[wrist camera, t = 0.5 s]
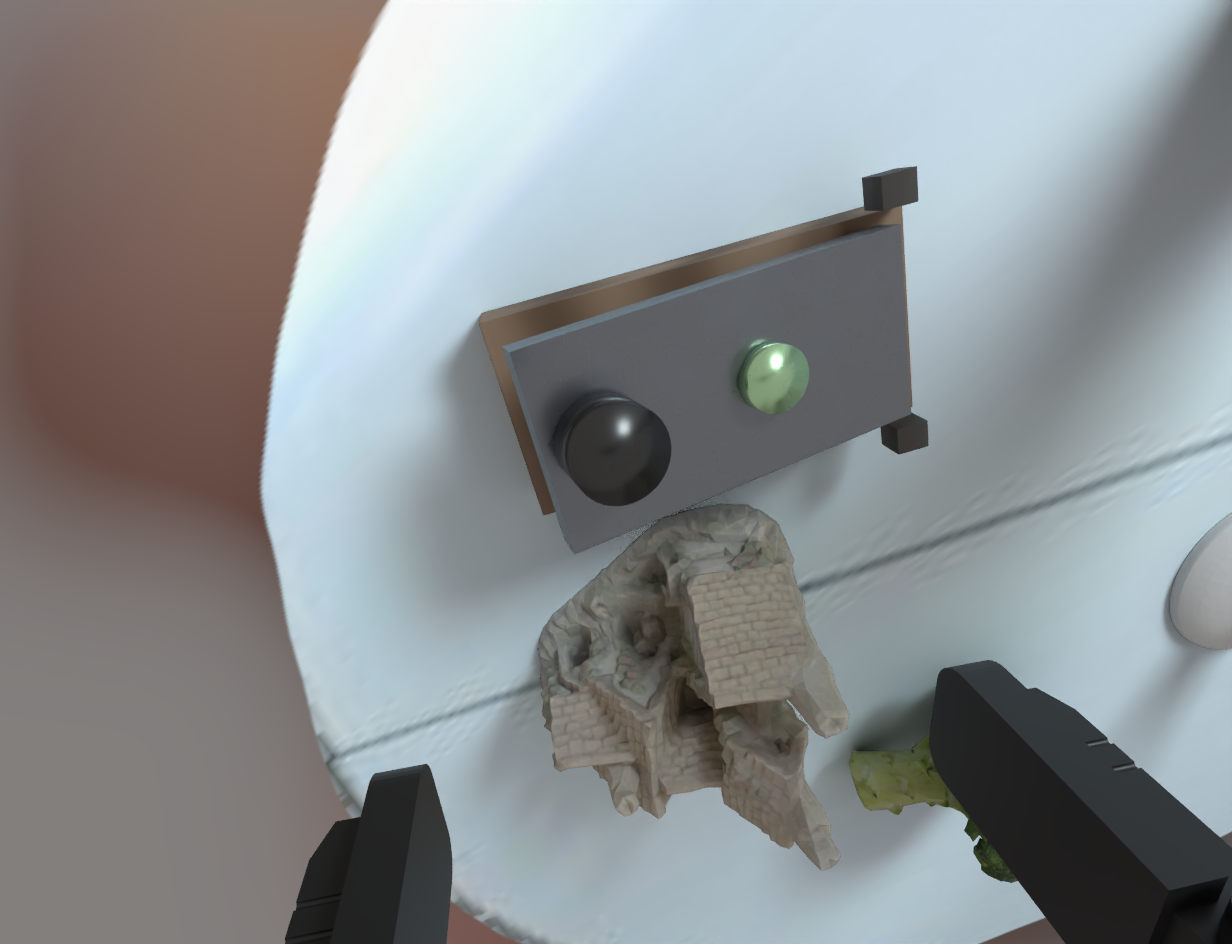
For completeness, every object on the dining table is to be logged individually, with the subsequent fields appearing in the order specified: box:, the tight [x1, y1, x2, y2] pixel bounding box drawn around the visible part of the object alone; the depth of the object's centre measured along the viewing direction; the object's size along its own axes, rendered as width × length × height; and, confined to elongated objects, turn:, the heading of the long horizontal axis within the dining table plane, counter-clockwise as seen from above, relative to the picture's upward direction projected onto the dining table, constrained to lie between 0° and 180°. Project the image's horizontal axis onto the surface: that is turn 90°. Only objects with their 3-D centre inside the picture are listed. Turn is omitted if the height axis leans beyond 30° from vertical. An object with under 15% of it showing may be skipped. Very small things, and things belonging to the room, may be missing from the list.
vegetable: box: [849, 732, 1018, 883], centre depth 43 cm, size 12×13×15 cm
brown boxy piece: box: [479, 166, 928, 515], centre depth 31 cm, size 20×13×5 cm, turn 104°
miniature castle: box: [538, 504, 849, 870], centre depth 33 cm, size 16×16×15 cm
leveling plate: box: [502, 224, 911, 554], centre depth 27 cm, size 18×9×4 cm, turn 104°
